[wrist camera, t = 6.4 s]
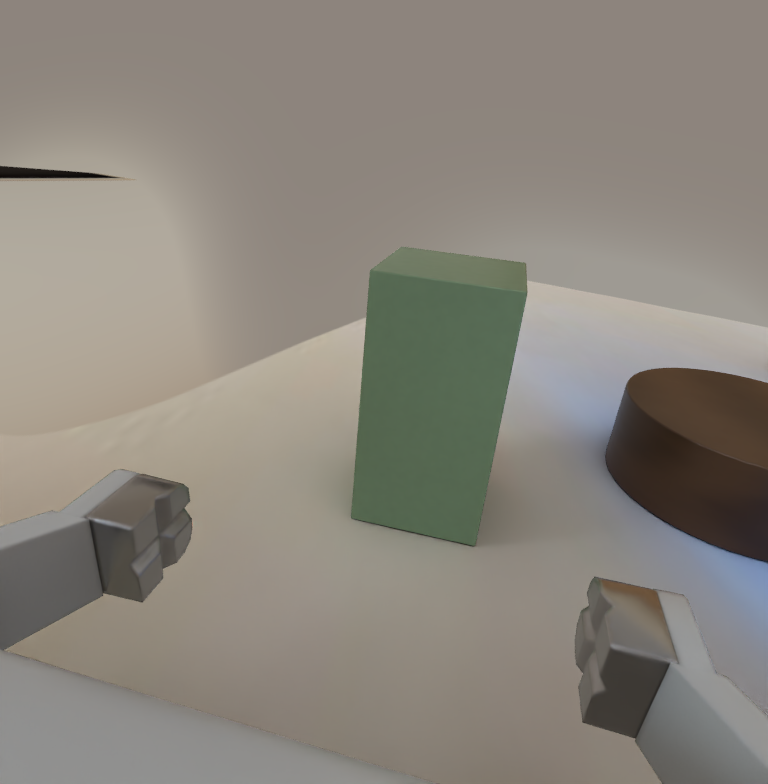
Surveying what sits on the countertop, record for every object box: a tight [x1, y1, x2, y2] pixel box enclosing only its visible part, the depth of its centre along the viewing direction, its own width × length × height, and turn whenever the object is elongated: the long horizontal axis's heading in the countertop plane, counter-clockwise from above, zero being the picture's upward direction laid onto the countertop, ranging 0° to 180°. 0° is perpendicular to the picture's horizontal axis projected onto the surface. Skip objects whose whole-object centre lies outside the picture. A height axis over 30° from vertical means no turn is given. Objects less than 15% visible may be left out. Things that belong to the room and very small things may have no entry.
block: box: [351, 247, 527, 546], centre depth 21 cm, size 5×5×10 cm
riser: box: [605, 368, 768, 561], centre depth 25 cm, size 11×11×4 cm
